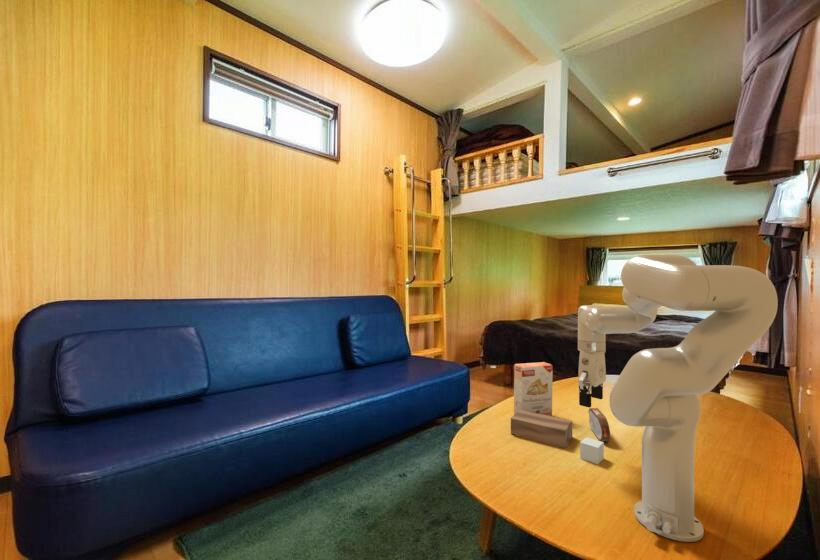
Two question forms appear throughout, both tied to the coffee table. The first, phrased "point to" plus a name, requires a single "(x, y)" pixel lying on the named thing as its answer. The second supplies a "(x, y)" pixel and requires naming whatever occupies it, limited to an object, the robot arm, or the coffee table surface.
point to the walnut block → (542, 428)
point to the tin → (599, 424)
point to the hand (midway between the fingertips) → (591, 402)
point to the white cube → (592, 450)
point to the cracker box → (533, 387)
